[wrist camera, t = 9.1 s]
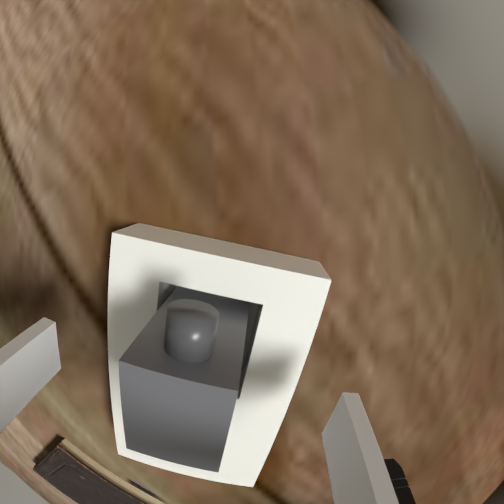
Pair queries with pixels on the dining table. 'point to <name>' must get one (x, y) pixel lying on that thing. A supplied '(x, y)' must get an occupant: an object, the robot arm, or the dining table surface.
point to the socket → (257, 332)
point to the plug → (184, 378)
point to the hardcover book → (89, 479)
